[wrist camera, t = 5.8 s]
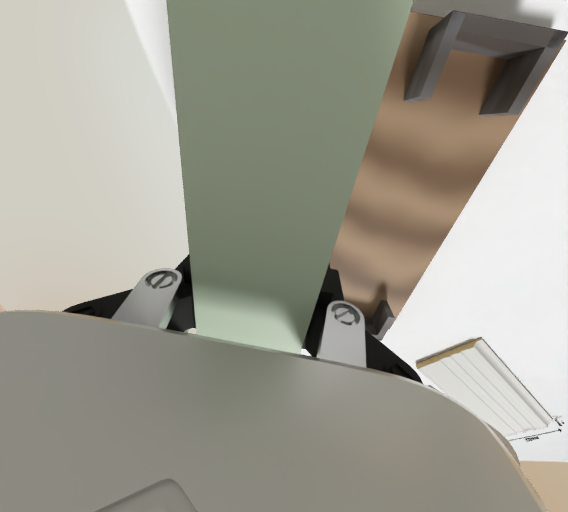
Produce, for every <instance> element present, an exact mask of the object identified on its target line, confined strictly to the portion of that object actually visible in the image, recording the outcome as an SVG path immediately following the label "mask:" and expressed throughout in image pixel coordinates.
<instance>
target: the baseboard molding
mask: <svg viewBox="0 0 568 512" xmlns="http://www.w3.org/2000/svg"><path fill="white" fill-rule="evenodd" d="M416 367H417V369H418V370H419V371H420V372H422V373H423V374H424V375H425V376H426V377H427V378H428V379H430V380H431V381H432V382H433V383H434V384H435V385H436V386H437V387H439V388H440V389H441V390H442V391H443V392H444V393H445V394H447V395H448V396H449V397H451V398H453V399H454V400H456V401H458V402H459V403H461V404H462V405H464V406H465V407H467V408H468V409H470V410H471V411H472V412H474V413H475V414H476V415H477V416H478V417H480V418H481V419H482V420H483V421H485V422H486V423H488V424H489V425H491V426H492V427H493V428H495V429H496V430H497V431H498V432H500V433H501V434H502V435H503V436H504V437H505V436H510V435H515V434H517V433H521V432H523V433H524V432H526V431H530V430H536V429H540V428H547V427H548V424H549V423H551V422H554V421H553V420H552V418H551V417H550V416H549V415H548V414H547V413H546V412H545V410H544V409H543V408H542V407H541V406H540V405H539V404H538V402H537V401H536V400H535V399H534V398H533V397H532V396H531V395H530V393H529V392H528V391H527V390H526V389H525V388H524V387H523V385H522V384H521V383H520V382H519V381H518V380H517V379H516V377H515V376H514V375H513V374H512V373H511V372H510V371H509V369H508V368H507V367H506V366H505V365H504V364H503V363H502V361H501V360H500V359H499V358H498V357H497V356H496V355H495V353H494V352H493V351H492V350H491V349H490V348H489V347H488V345H487V344H486V343H485V342H484V341H483V340H482V339H481V338H479V339H476V340H474V341H471V342H469V343H467V344H464V345H462V346H459V347H457V348H454V349H452V350H449V351H447V352H444V353H442V354H439V355H437V356H434V357H432V358H429V359H427V360H424V361H422V362H419V363H417V364H416ZM555 421H556V420H555ZM556 422H557V421H556ZM557 423H558V424H559V426H562V425H561V424H560V423H559V422H557ZM563 424H564V422H563ZM557 431H560V432H561V430H560V429H559V430H557ZM553 432H555V431H553ZM548 433H550V432H548ZM543 434H545V433H543ZM538 435H540V434H538ZM533 436H535V435H533ZM528 437H531V436H528ZM537 437H538V436H537ZM537 437H534V438H536V439H539V438H537ZM524 438H526V437H524ZM534 438H532V437H531V439H534ZM519 439H521V438H519ZM527 439H529V440H528V441H530V440H531V439H530V438H527ZM527 439H526V440H527ZM514 440H516V439H514ZM509 441H511V440H509ZM528 441H527V442H528ZM531 441H532V440H531Z"/></svg>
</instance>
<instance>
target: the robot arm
mask: <svg viewBox="0 0 568 512" xmlns="http://www.w3.org/2000/svg"><path fill="white" fill-rule="evenodd" d="M190 328H196V321H195V309H194V298H193V287H192V276H191V265H190V254H189V255H188V256H187V257H186V258H185V259H184V260H183V261H182V262H181V263H180V264H179V265H178V267H177V268H176V269H175V270H174V269H170V268H162V269H156V270H153V271H150V272H149V273H147V274H145V275H144V276H143V277H142V278H141V280H140V281H139V282H138V283H137V285H136V286H135V287H134V289H131V290H127V291H124V292H120V293H117V294H113V295H109V296H106V297H102V298H99V299H95V300H92V301H88V302H84V303H80V304H77V305H75V306H71V307H69V308H67V309H65V310H64V311H62V312H59V311H44V310H14V311H4V312H0V512H549V510H548V509H547V507H546V505H545V504H544V502H543V501H542V500H541V498H540V496H539V495H538V493H537V492H536V490H535V489H534V487H533V486H532V484H531V482H530V481H529V480H528V478H527V477H526V475H525V474H524V472H523V471H522V469H521V468H520V463H519V460H518V457H517V454H516V452H515V451H514V449H513V448H512V446H511V444H510V443H509V442H508V441H507V440H506V439H505V437H504V436H503V435H502V434H501V433H500V432H498V431H497V430H496V429H495V428H493V427H492V426H491V425H489V424H488V423H486V422H485V421H483V420H482V419H481V418H480V417H478V416H477V415H476V414H475V413H474V412H472V411H471V410H470V409H468V408H467V407H465V406H464V405H462V404H461V403H459V402H458V401H456V400H454V399H453V398H451V397H449V396H447V395H445V394H443V393H441V392H440V391H438V390H436V389H435V388H433V387H432V386H430V385H429V386H426V385H424V384H423V383H422V381H421V379H420V377H419V376H418V374H417V373H416V372H415V371H414V370H413V369H412V368H411V367H410V366H409V365H408V364H407V363H406V362H404V361H403V360H402V359H401V358H399V357H398V356H397V355H396V354H395V353H393V352H392V351H391V350H390V349H388V348H387V347H386V346H385V345H384V344H382V343H381V342H380V341H379V340H377V339H376V338H375V337H374V336H373V335H371V334H370V333H369V332H368V331H367V330H365V323H364V316H363V314H362V312H361V311H360V310H359V309H358V308H357V307H356V306H354V305H353V304H351V303H348V302H345V301H344V296H343V291H342V286H341V281H340V276H339V272H338V270H336V269H331V268H330V263H329V265H328V268H327V271H326V274H325V277H324V280H323V284H322V287H321V290H320V293H319V296H318V299H317V302H316V305H315V308H314V311H313V315H312V318H311V321H310V324H309V327H308V330H307V333H306V336H305V339H304V343H303V346H302V348H303V349H306V350H307V351H308V352H309V353H310V354H311V355H310V356H306V355H301V354H296V353H291V352H285V351H280V350H275V349H270V348H265V347H259V346H254V345H249V344H244V343H238V342H233V341H228V340H223V339H217V338H212V337H207V336H201V335H196V334H191V333H188V329H190Z"/></svg>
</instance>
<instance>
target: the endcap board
mask: <svg viewBox="0 0 568 512" xmlns="http://www.w3.org/2000/svg"><path fill="white" fill-rule="evenodd" d="M567 34H568V32H567V31H561V30H556V29H551V28H545V27H540V26H534V25H529V24H524V23H518V22H513V21H508V20H502V19H497V18H491V17H486V16H481V15H475V14H470V13H465V12H459V11H454V10H453V11H452V12H451V13H450V14H448V15H447V16H446V17H445V18H443V17H437V16H432V15H426V14H421V13H416V12H410V13H409V17H408V20H407V23H406V26H405V29H404V32H403V35H402V38H401V41H400V45H399V48H398V51H397V54H396V57H395V60H394V63H393V66H392V69H391V72H390V76H389V79H388V82H387V85H386V88H385V91H384V94H383V97H382V100H381V104H380V107H379V110H378V113H377V116H376V119H375V122H374V125H373V128H372V131H371V135H370V138H369V141H368V144H367V147H366V150H365V153H364V156H363V159H362V162H361V166H360V169H359V172H358V175H357V178H356V181H355V184H354V187H353V190H352V194H351V197H350V200H349V203H348V206H347V209H346V212H345V215H344V218H343V221H342V225H341V228H340V231H339V234H338V237H337V240H336V243H335V246H334V249H333V253H332V256H331V259H330V262H329V263H330V268H331V269H336V270H338V272H339V276H340V281H341V286H342V291H343V296H344V301H345V302H348V303H351V304H353V305H354V306H356V307H357V308H358V309H359V310H360V311H361V312H362V314H363V316H364V323H365V330H367V331H368V332H369V333H370V334H371V335H373V336H374V337H375V338H376V339H377V340H382V339H383V337H384V335H385V334H386V332H387V330H388V329H390V328H391V326H392V324H393V323H394V321H395V319H396V318H397V316H398V315H399V313H400V311H401V310H402V308H403V306H404V305H405V303H406V301H407V300H408V298H409V297H410V295H411V293H412V292H413V290H414V288H415V287H416V285H417V283H418V282H419V280H420V279H421V277H422V275H423V274H424V272H425V270H426V269H427V267H428V266H429V264H430V262H431V261H432V259H433V257H434V256H435V254H436V252H437V251H438V249H439V248H440V246H441V244H442V243H443V241H444V239H445V238H446V236H447V234H448V233H449V231H450V230H451V228H452V226H453V225H454V223H455V221H456V220H457V218H458V216H459V215H460V213H461V212H462V210H463V208H464V207H465V205H466V203H467V202H468V200H469V199H470V197H471V195H472V194H473V192H474V190H475V189H476V187H477V185H478V184H479V182H480V181H481V179H482V177H483V176H484V174H485V172H486V171H487V169H488V167H489V166H490V164H491V163H492V161H493V159H494V158H495V156H496V154H497V153H498V151H499V150H500V148H501V146H502V145H503V143H504V141H505V140H506V138H507V136H508V135H509V133H510V132H511V130H512V128H513V127H514V125H515V123H516V122H517V120H518V118H519V117H520V115H521V114H522V112H523V110H524V109H525V107H526V105H527V104H528V102H529V100H530V99H531V97H532V96H533V94H534V92H535V91H536V89H537V87H538V86H539V84H540V83H541V81H542V79H543V78H544V76H545V74H546V73H547V71H548V69H549V68H550V66H551V65H552V63H553V61H554V60H555V58H556V56H557V55H558V53H559V51H560V50H561V48H562V47H563V45H564V43H565V42H566V40H564V39H565V37H566V36H567Z"/></svg>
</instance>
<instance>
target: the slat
mask: <svg viewBox="0 0 568 512" xmlns="http://www.w3.org/2000/svg"><path fill="white" fill-rule="evenodd" d="M413 1H414V0H167V11H168V22H169V33H170V44H171V55H172V66H173V77H174V88H175V99H176V110H177V121H178V132H179V144H180V155H181V165H182V177H183V188H184V199H185V210H186V221H187V231H188V243H189V254H190V265H191V276H192V287H193V298H194V309H195V321H196V330H197V331H196V332H197V335H201V336H207V337H212V338H217V339H223V340H228V341H233V342H238V343H244V344H249V345H254V346H259V347H265V348H270V349H275V350H280V351H285V352H291V353H296V354H300V352H301V349H302V346H303V343H304V339H305V336H306V333H307V330H308V327H309V324H310V321H311V318H312V315H313V311H314V308H315V305H316V302H317V299H318V296H319V293H320V290H321V287H322V284H323V280H324V277H325V274H326V271H327V268H328V265H329V262H330V259H331V256H332V253H333V249H334V246H335V243H336V240H337V237H338V234H339V231H340V228H341V225H342V221H343V218H344V215H345V212H346V209H347V206H348V203H349V200H350V197H351V194H352V190H353V187H354V184H355V181H356V178H357V175H358V172H359V169H360V166H361V162H362V159H363V156H364V153H365V150H366V147H367V144H368V141H369V138H370V135H371V131H372V128H373V125H374V122H375V119H376V116H377V113H378V110H379V107H380V104H381V100H382V97H383V94H384V91H385V88H386V85H387V82H388V79H389V76H390V72H391V69H392V66H393V63H394V60H395V57H396V54H397V51H398V48H399V45H400V41H401V38H402V35H403V32H404V29H405V26H406V23H407V20H408V17H409V13H410V10H411V7H412V4H413Z"/></svg>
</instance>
